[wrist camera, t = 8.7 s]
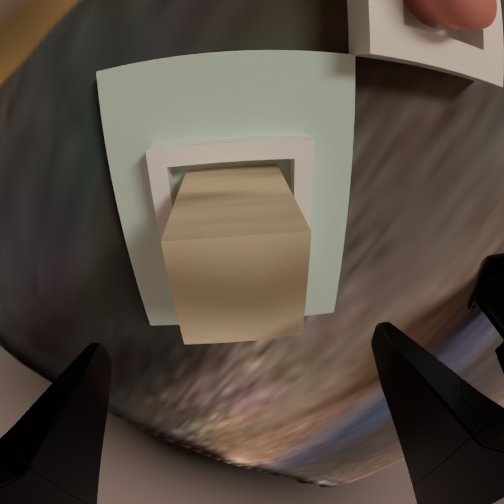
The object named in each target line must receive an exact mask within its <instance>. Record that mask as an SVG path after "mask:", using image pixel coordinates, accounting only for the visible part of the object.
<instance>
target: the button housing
mask: <svg viewBox="0 0 504 504" xmlns="http://www.w3.org/2000/svg"><path fill="white" fill-rule="evenodd" d="M496 1H497V13H496V17H495V20H494V21H493V23H492V24H491V25H490V26H489V27H487V28H484V29H452V30H437V29H434V28H431V27H429V26H427V25H425V24H423V23H422V22H421V21H419V20H418V19H417V18H416V17H415V16H414V15H413V14H412V13H411V12H410V11H409V9H408V8H407V6H406V5H405V3H404V1H403V0H347V10H348V37H349V54H352V55H355V56H358V57H366V58H373V59H380V60H386V61H392V62H398V63H403V64H409V65H414V66H418V67H423V68H427V69H432V70H436V71H440V72H444V73H448V74H452V75H455V76H459V77H462V78H466V79H469V80H472V81H476V82H481V83H486V84H491V85H495V86H499V87H503V74H504V46H503V25H502V12H501V3H500V0H496Z"/></svg>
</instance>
